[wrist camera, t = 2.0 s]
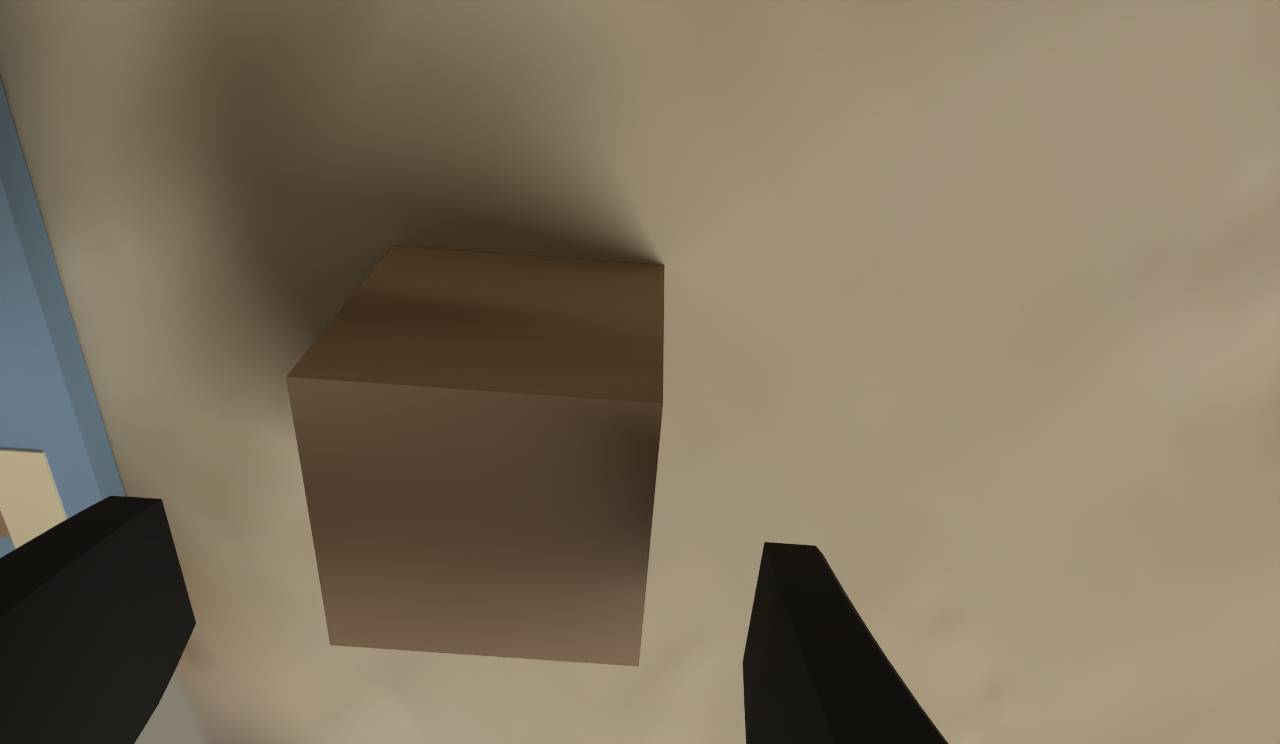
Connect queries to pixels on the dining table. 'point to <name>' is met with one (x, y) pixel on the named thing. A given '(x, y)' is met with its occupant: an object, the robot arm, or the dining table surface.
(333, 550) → the walnut block
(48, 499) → the board
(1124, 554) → the dining table surface
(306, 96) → the dining table surface
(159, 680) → the robot arm
